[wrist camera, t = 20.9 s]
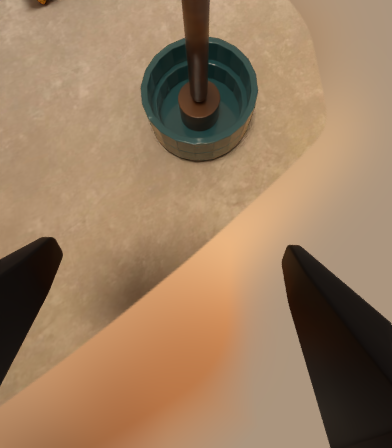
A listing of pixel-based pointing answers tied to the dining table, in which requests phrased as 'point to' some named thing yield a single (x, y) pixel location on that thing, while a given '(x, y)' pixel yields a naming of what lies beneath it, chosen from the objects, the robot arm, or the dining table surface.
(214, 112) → the wooden pestle
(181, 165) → the dining table surface
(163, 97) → the teal round dish
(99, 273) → the dining table surface
